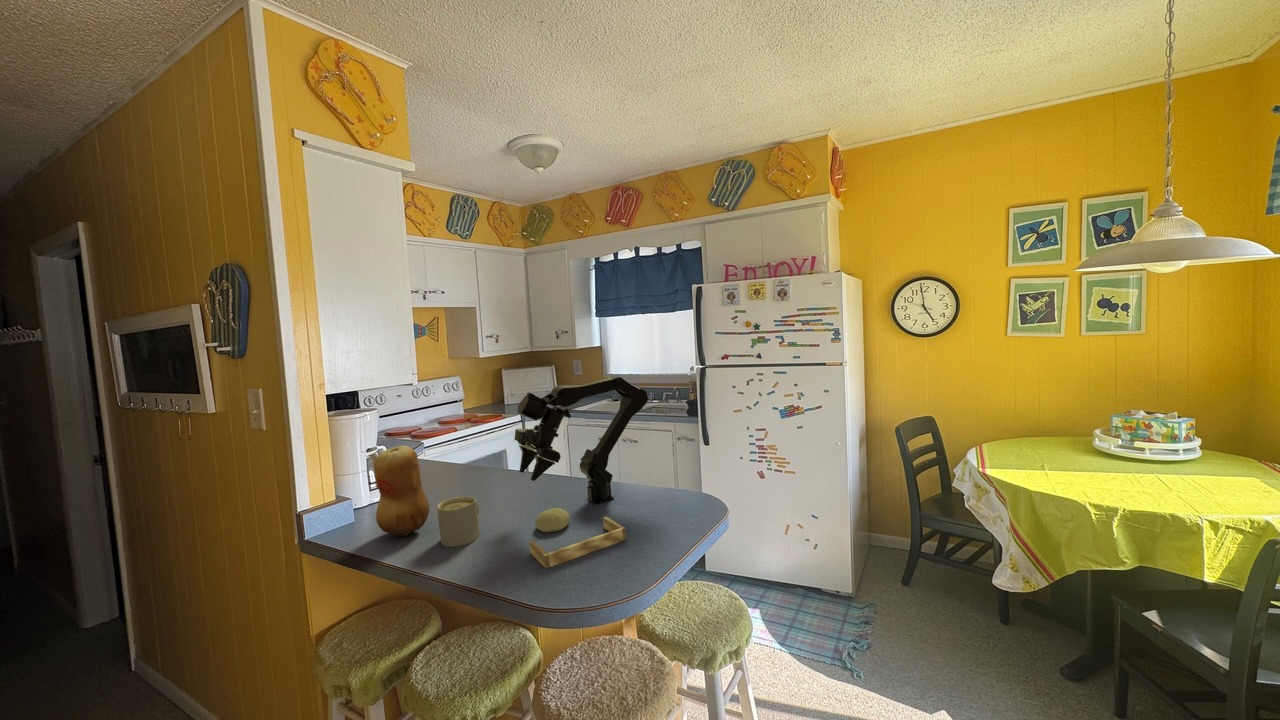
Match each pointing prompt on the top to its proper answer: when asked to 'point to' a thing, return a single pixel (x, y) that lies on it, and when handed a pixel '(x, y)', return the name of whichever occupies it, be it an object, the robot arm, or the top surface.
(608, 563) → the top surface
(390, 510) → the butternut squash
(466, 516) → the coffee mug
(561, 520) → the sea urchin shell
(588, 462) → the robot arm
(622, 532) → the box
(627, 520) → the top surface
